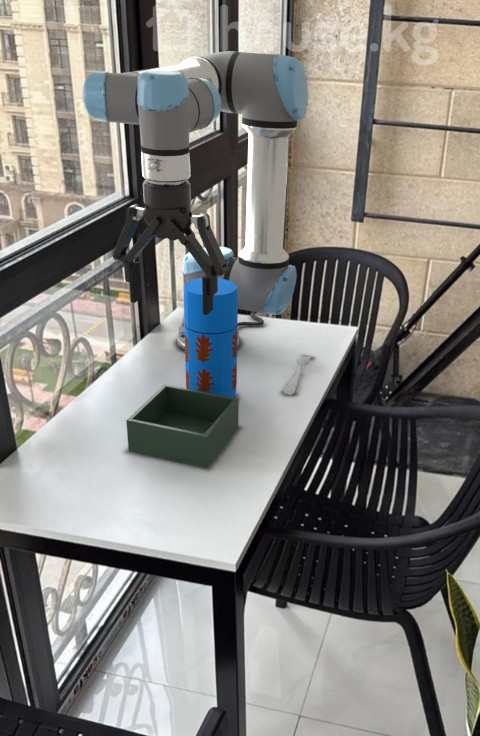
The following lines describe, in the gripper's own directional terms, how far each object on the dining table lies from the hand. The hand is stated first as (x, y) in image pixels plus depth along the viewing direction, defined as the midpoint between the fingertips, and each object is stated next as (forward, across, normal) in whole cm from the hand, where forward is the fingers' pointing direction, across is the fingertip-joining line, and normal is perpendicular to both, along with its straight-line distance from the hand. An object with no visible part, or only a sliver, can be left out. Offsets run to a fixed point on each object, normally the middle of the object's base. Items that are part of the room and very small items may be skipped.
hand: (171, 306), depth 131 cm
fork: (+29, +13, +38) cm, 49 cm away
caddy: (+28, +1, +2) cm, 28 cm away
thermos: (+28, -1, +20) cm, 35 cm away
